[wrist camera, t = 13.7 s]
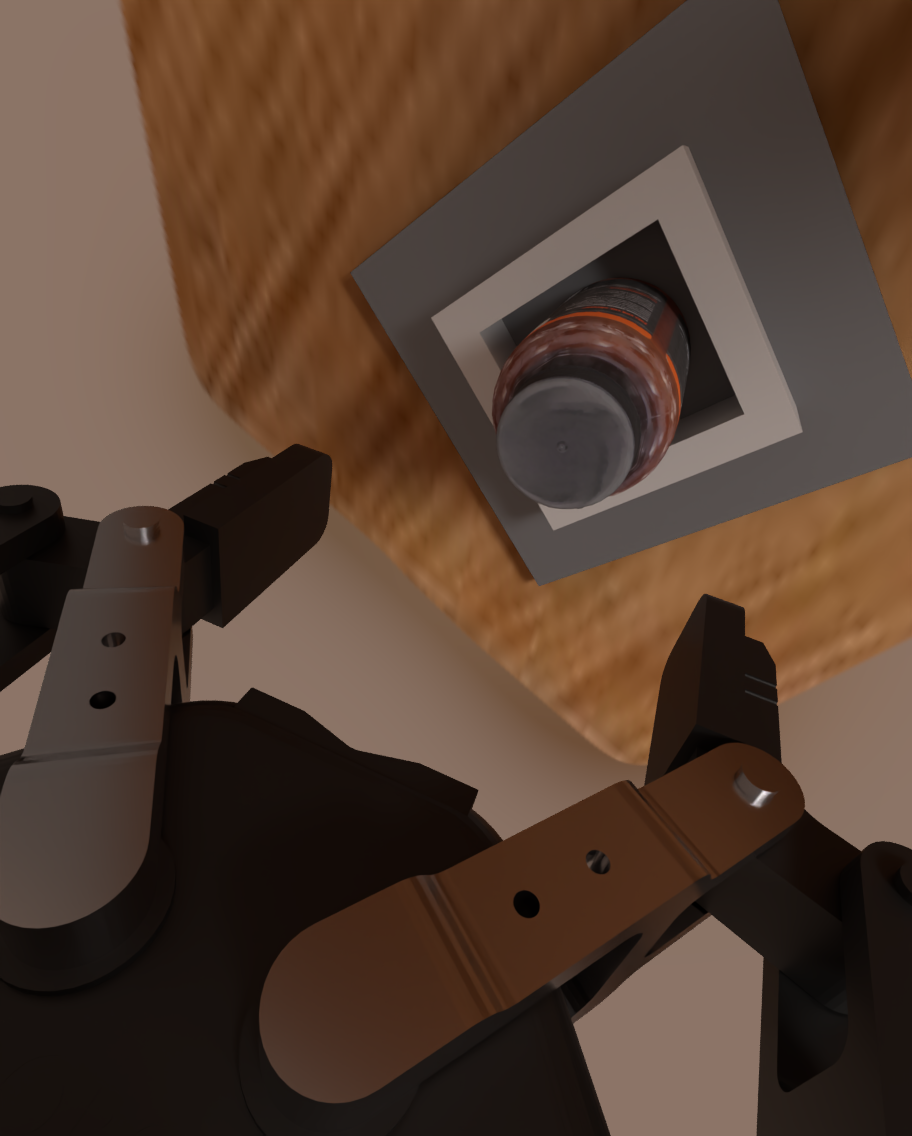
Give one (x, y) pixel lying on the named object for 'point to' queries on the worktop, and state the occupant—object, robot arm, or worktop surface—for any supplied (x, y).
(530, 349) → the supplement bottle
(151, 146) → the worktop surface
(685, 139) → the collar plate
